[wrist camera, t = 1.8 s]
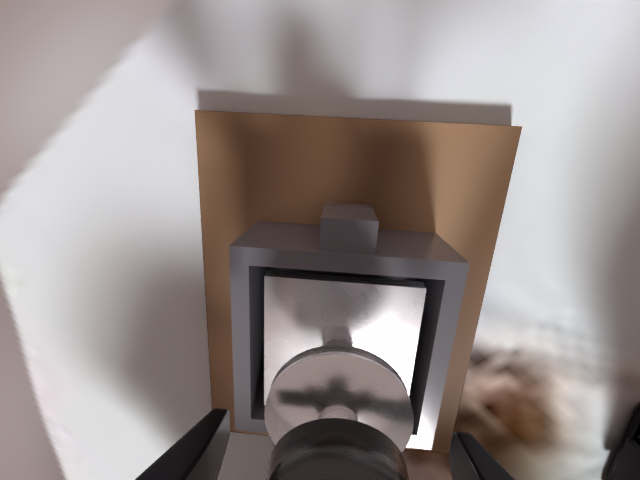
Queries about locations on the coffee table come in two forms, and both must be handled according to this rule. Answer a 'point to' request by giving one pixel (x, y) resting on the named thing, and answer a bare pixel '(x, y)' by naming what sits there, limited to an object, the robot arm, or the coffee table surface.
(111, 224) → the coffee table surface
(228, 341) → the board
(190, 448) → the robot arm
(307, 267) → the press
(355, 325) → the plunger
